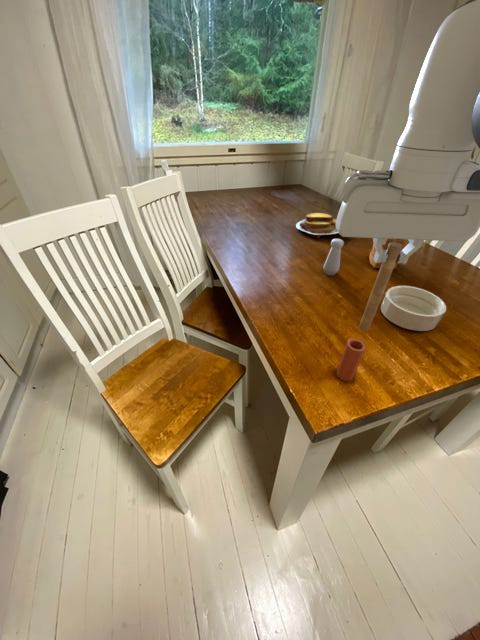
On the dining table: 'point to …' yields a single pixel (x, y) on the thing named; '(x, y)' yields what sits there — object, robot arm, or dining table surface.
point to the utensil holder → (350, 359)
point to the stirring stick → (380, 285)
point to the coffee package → (384, 247)
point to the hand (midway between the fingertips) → (389, 262)
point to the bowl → (413, 308)
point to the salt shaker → (333, 257)
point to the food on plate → (318, 224)
